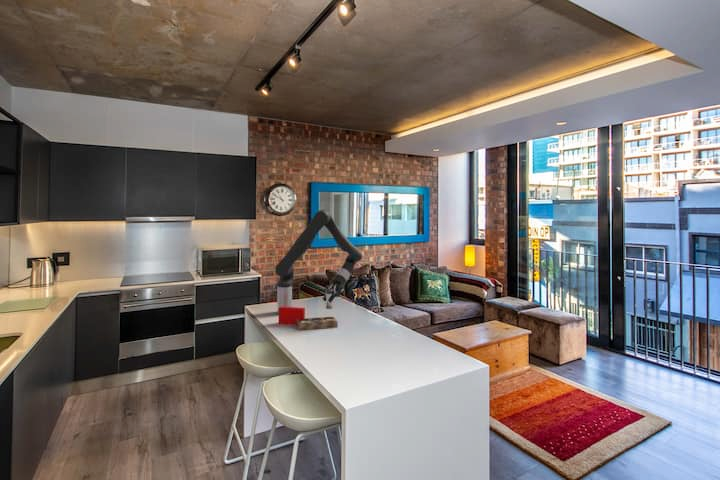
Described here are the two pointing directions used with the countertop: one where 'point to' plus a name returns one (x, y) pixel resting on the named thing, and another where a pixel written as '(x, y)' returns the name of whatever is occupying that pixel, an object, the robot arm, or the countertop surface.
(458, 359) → the countertop surface
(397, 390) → the countertop surface
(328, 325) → the socket bar
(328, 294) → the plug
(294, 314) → the play button
